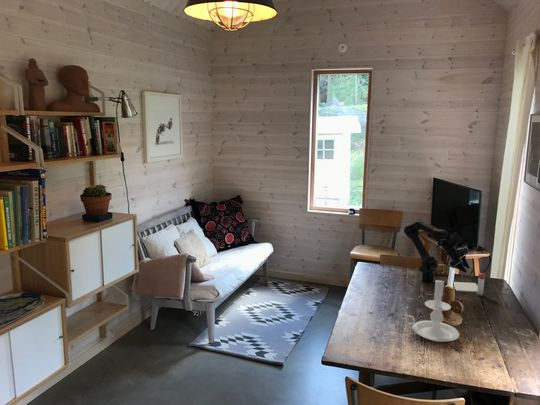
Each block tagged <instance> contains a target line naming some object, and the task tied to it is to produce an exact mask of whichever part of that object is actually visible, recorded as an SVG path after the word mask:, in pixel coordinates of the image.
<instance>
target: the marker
mask: <svg viewBox="0 0 540 405" xmlns="http://www.w3.org/2000/svg"><path fill="white" fill-rule="evenodd" d="M485 280H486V273H484V272H478V278H477V285H478V288H477V292H476V296H478V297H483V296H484V293H483V292H484V289H485V288H484V287H485Z"/></svg>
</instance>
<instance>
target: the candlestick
mask: <svg viewBox="0 0 540 405" xmlns="http://www.w3.org/2000/svg"><path fill="white" fill-rule="evenodd" d="M444 287H445V281H444V280H440V279H437V280H435V282H434V296H433V299H431V300H426V301H425V302H424V305H425V306H426V307H427V308H429V309H431V310H432V312H431V313H430V314H429V318H430V320H420V321H417V322H416V319H415V317H414V316H413V315H410V314H409V315H408V314H406V313H404V314H403V316H405V317H404V323H406V325H407V327H408V329H409V330H413V331H414V333H416V334H417V335H419V336H420V337H422V338H424V339H426V340H427V341H432V342H435V343H446V342H452V341H456V340H457V339H459V338H460V332H459V331H458V329H457V328H455V327H454V326H452V325H449V324H447V323H445V322H443V321H444V315H443V313H442V312H443V311H449V310H451V308H452V306H451V305H450V304H449V303H447V302H444V301H442V299H443V297H444V289H445V288H444ZM408 318H411V319H412V320H413V321H412V322H408V320H407V319H408ZM411 326H412V327H411Z"/></svg>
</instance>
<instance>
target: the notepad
mask: <svg viewBox="0 0 540 405" xmlns="http://www.w3.org/2000/svg"><path fill="white" fill-rule="evenodd" d="M453 282H454V287H455V289H456V291H455V292H463V293H477V288H478V283H476V282H463V281H462V282H461V281H453ZM484 292H485V291H483V294H484Z"/></svg>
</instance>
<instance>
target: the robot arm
mask: <svg viewBox="0 0 540 405" xmlns="http://www.w3.org/2000/svg"><path fill="white" fill-rule="evenodd" d="M420 230H421V231H423V232H425V233H427V234H429V235H431V236H432V239H433V238H434V239H435V240H436V241H438V242H437V245H436V246H437V247H436V248H440V247H441V248H442V249H443V251H444V252H445V253H446V256H448V257H449V258H450V262H449V265H450V266H451V268H452V267H453V268H455V269H457V270H459V271H461V272H463V273H465V274H467V273H468V270H469V269H470V268H471V267H470V265H469V263H468V260H467V254H468V253H469V252H470V250H469V247H468V245H465V244H462V245H461V247H459V248H458V247H456V245H458V244H460V243H461V242H462V241H463V238H462V236H461V235H460V234H459V233H457V232H456V231H454V232H451V233H449V232H448V231H447V230H445V229H441V228H436V227H434V226H431V225H429V224H427V223H425V222H424V221H423V220H422V221H415V222H413V223H411V224H409V225H406V226H405V227H404V229H403V232H404V234H405V235H406V237H407V238H409V239H410V240H411V241H412V243H413V245H414V246H415V249H416V250H417V252H418V255H420V258H421V266H420V267H418V269H419V272H421V275H420V278H419V279H420V280H421V282H422V283H434V273H433V272H434V271H435V272H436V270H437V269H436V268H437V263H438V261H437V260H436V258H435V256H431V255H430V254H429V252H428V251H427V249H426V247H425V245H424V243H423V241H422V239H421V238H420V232H419V231H420ZM436 262H437V263H436ZM467 269H468V270H467Z"/></svg>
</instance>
